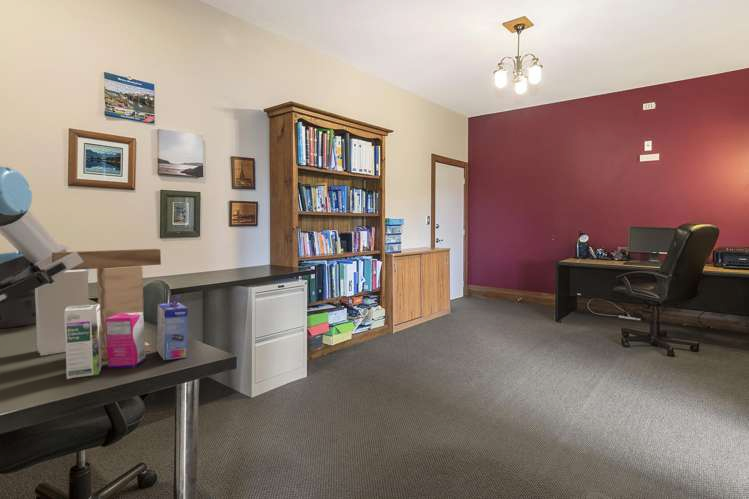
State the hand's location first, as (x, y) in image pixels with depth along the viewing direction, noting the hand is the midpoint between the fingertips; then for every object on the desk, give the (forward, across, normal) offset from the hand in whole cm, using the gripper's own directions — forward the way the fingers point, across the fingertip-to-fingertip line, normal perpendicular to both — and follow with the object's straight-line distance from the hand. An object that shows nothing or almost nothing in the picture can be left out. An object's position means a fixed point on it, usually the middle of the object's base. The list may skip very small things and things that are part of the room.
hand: (73, 254), depth 95 cm
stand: (-5, 0, +26) cm, 27 cm away
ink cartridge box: (+2, -12, +30) cm, 33 cm away
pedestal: (-13, +12, +21) cm, 28 cm away
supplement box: (-6, -12, +25) cm, 29 cm away
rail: (+4, 0, +7) cm, 8 cm away
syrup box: (-13, -12, +21) cm, 28 cm away
